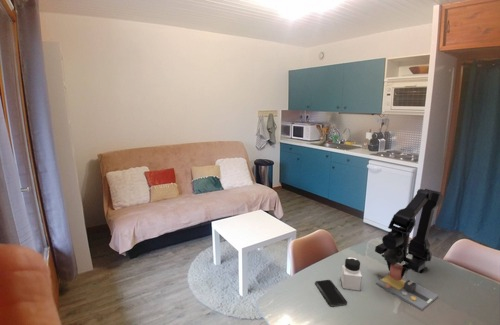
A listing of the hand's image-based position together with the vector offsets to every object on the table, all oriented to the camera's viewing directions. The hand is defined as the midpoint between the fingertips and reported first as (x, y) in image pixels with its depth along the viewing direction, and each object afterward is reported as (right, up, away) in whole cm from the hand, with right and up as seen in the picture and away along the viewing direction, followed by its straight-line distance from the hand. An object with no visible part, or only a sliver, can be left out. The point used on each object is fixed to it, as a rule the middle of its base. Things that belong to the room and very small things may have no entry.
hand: (395, 273), depth 118 cm
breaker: (+3, -5, -4) cm, 7 cm away
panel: (+3, -6, -3) cm, 7 cm away
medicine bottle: (-20, -5, 0) cm, 21 cm away
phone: (-31, -6, -5) cm, 32 cm away
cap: (0, -1, 0) cm, 1 cm away
